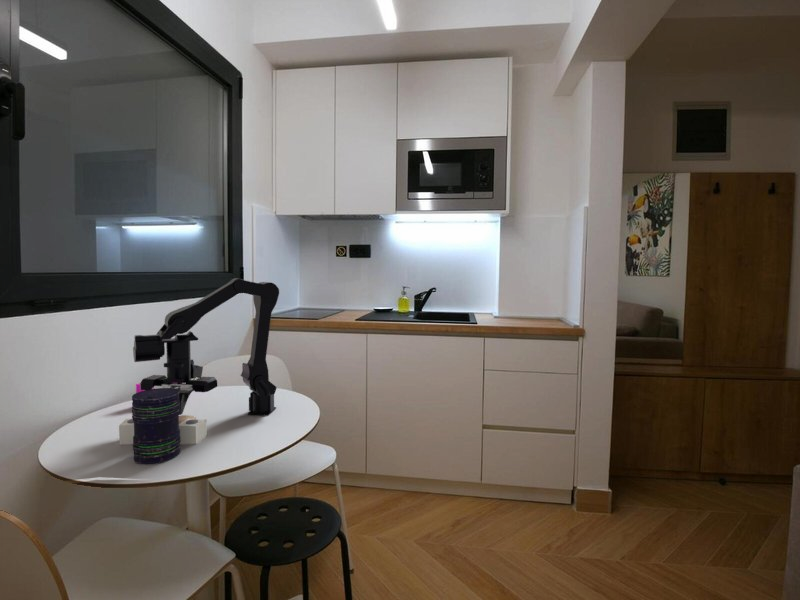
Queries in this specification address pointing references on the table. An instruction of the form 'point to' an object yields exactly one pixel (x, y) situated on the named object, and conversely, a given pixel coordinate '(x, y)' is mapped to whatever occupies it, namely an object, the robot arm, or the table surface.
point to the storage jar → (156, 425)
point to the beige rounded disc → (185, 418)
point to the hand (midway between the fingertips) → (179, 414)
